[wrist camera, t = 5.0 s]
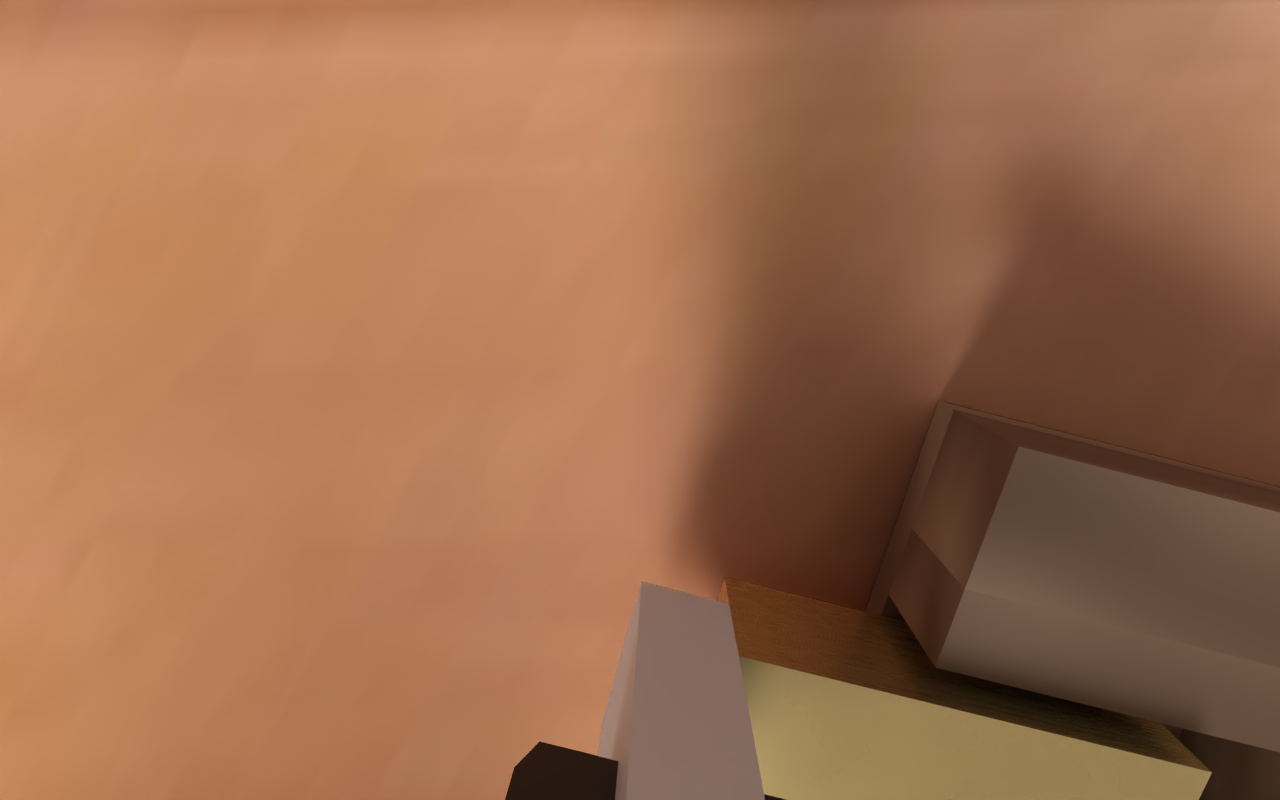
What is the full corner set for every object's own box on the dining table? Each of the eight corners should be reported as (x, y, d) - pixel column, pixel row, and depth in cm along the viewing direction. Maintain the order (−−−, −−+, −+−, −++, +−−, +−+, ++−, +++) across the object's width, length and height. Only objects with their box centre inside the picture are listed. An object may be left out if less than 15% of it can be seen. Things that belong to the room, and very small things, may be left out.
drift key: (724, 576, 13) (738, 656, 10) (1108, 671, 13) (1212, 772, 10) (688, 695, 13) (694, 797, 11) (1058, 784, 13) (1146, 906, 11)
